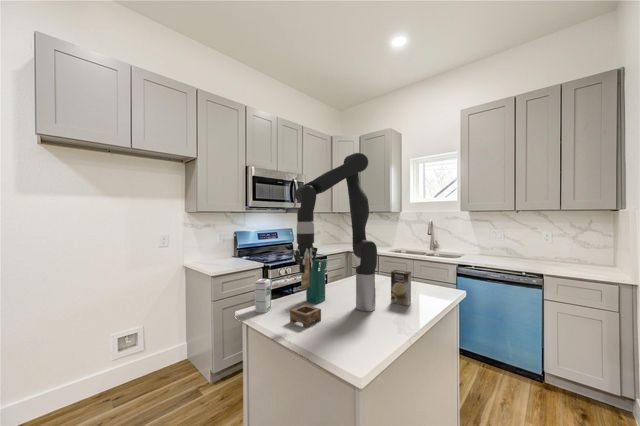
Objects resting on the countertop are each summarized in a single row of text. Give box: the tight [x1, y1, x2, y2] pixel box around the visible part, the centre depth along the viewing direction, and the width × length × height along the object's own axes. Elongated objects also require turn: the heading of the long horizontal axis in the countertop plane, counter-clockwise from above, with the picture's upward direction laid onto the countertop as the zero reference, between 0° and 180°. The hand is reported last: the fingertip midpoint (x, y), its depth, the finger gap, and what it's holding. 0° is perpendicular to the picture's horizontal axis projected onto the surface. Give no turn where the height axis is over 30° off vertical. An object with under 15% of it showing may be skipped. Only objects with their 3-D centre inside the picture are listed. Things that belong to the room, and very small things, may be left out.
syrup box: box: [254, 278, 272, 313], centre depth 128 cm, size 6×6×14 cm
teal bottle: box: [305, 258, 328, 304], centre depth 141 cm, size 10×8×22 cm
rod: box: [300, 249, 309, 288], centre depth 114 cm, size 3×3×16 cm
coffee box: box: [390, 269, 412, 306], centre depth 138 cm, size 9×6×16 cm
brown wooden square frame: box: [289, 304, 322, 329], centre depth 114 cm, size 9×9×5 cm
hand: (305, 272), depth 114 cm, fingers closed on rod, 3 cm apart
